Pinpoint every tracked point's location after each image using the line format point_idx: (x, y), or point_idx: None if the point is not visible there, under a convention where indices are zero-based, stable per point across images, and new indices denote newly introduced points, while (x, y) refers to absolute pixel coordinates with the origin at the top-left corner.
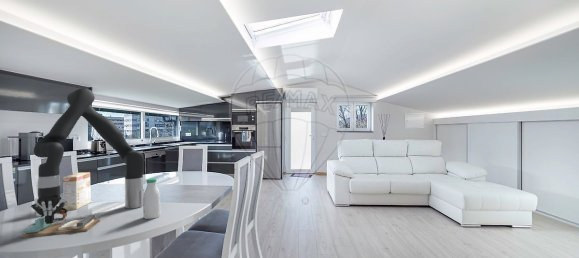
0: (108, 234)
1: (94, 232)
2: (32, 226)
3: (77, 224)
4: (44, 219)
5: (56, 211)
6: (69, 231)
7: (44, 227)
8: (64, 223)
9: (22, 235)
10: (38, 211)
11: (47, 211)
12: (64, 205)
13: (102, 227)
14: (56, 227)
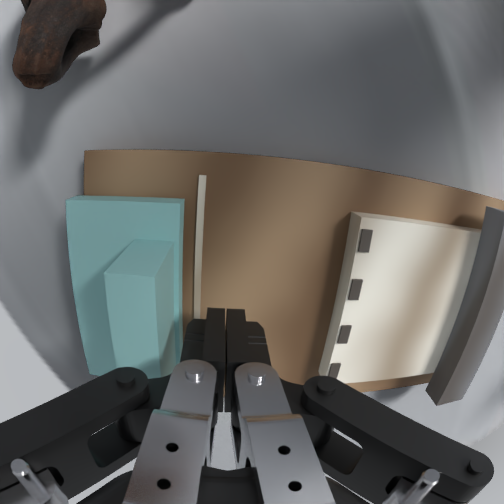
0: (491, 408)
1: (468, 388)
2: (80, 295)
3: (436, 400)
4: (164, 340)
5: (329, 448)
6: (383, 385)
7: (181, 303)
8: (303, 194)
9: None
10: (106, 459)
11: (211, 451)
12: (438, 437)
13: (500, 332)
14: (276, 298)
